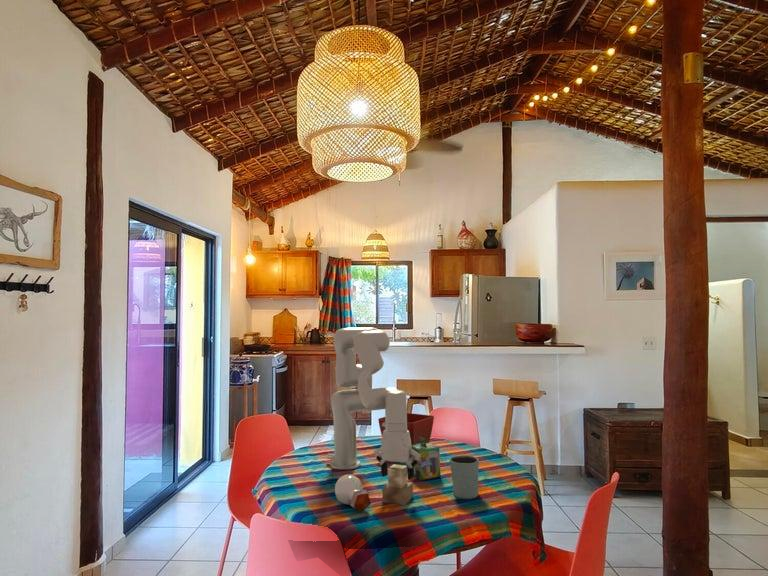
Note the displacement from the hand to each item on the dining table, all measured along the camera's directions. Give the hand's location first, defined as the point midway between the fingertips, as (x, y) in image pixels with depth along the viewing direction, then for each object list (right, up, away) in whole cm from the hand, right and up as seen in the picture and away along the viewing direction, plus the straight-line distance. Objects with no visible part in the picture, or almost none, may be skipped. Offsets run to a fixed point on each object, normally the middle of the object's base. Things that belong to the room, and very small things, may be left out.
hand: (397, 477), depth 167 cm
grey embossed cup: (+24, -7, +3) cm, 25 cm away
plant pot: (+6, -11, +54) cm, 56 cm away
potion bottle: (-15, -8, -5) cm, 18 cm away
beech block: (0, -3, 0) cm, 3 cm away
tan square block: (0, -8, 0) cm, 8 cm away
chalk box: (+12, -9, +24) cm, 28 cm away
